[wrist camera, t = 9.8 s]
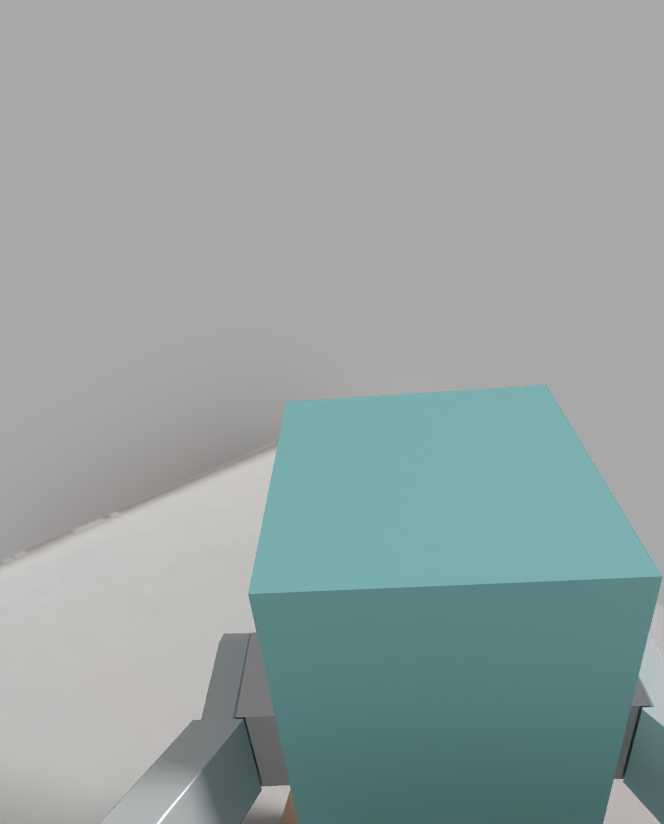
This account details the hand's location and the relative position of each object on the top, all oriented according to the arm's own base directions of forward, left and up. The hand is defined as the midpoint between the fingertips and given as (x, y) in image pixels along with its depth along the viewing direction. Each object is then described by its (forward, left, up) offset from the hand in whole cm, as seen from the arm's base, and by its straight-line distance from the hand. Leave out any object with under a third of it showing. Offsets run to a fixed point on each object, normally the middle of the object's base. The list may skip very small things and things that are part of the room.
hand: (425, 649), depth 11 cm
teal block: (0, -1, -5) cm, 6 cm away
